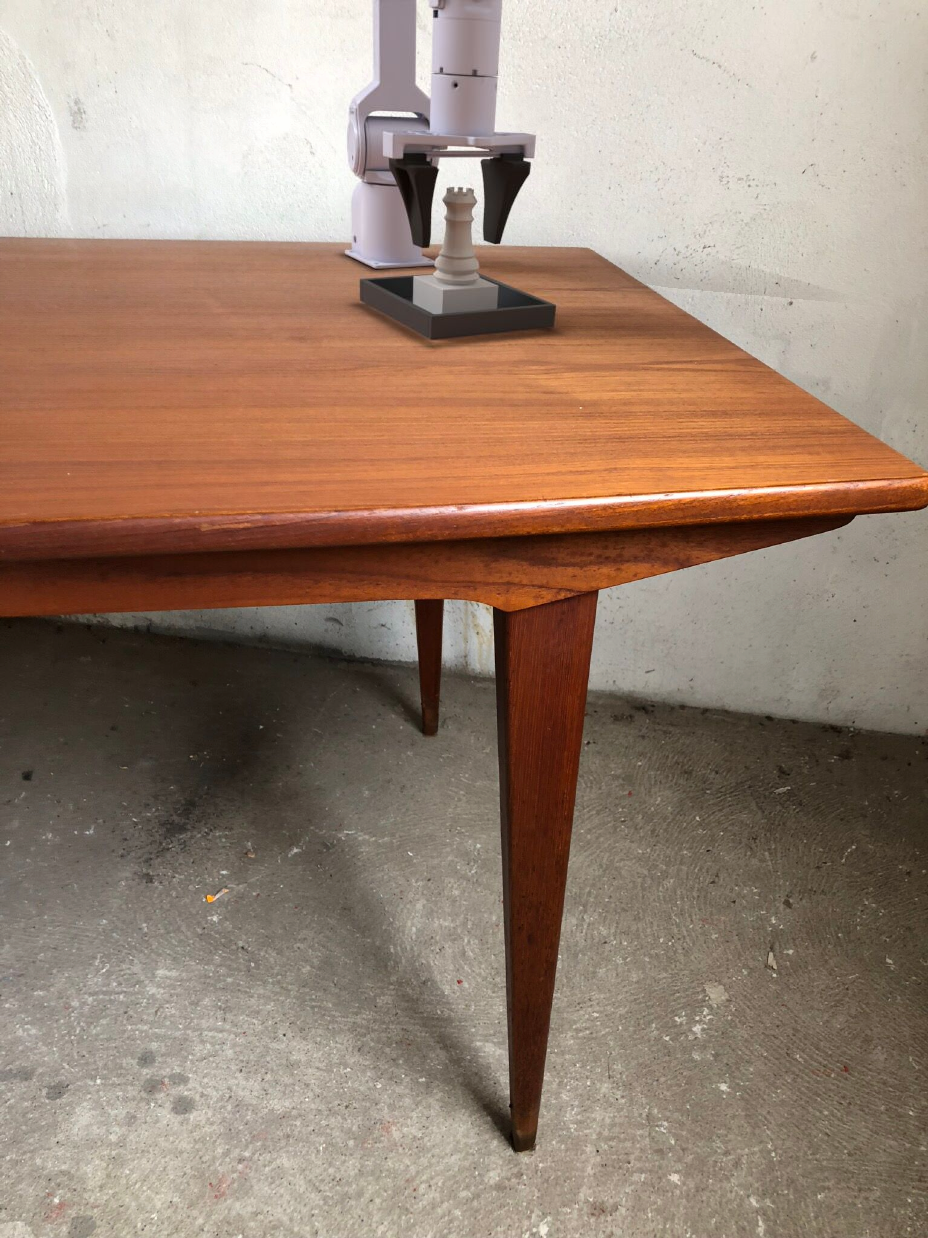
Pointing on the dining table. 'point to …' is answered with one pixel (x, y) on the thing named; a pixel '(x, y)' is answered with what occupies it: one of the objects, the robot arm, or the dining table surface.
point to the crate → (509, 316)
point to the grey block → (453, 295)
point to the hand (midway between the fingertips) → (457, 244)
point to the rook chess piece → (457, 240)
